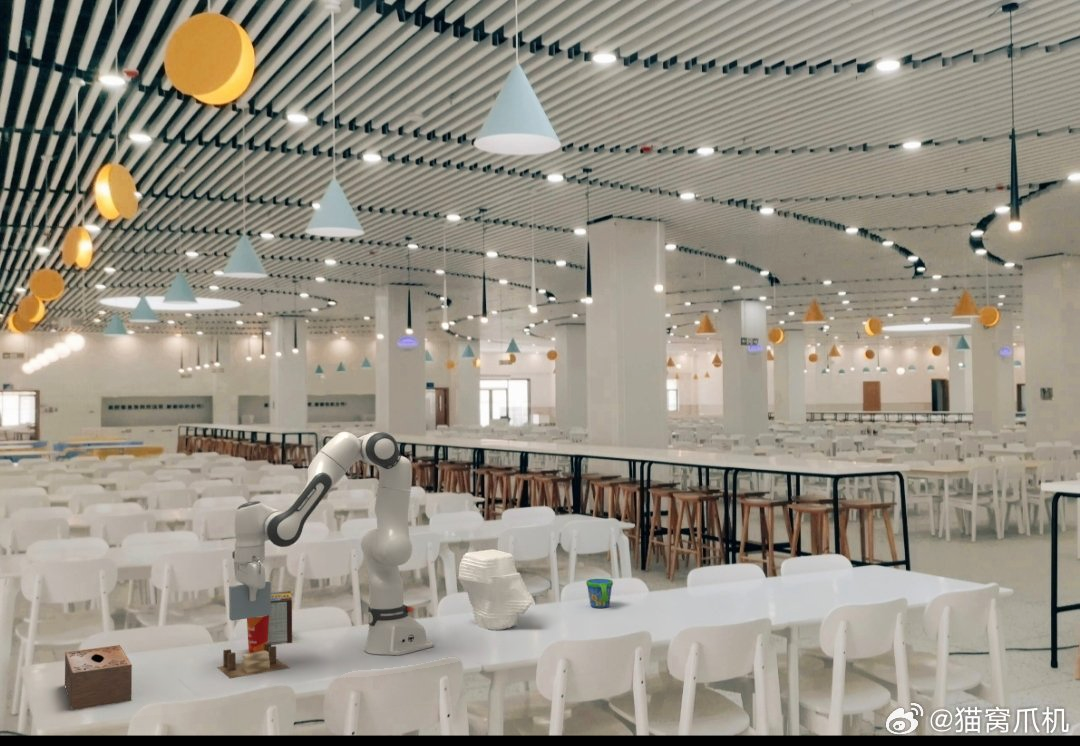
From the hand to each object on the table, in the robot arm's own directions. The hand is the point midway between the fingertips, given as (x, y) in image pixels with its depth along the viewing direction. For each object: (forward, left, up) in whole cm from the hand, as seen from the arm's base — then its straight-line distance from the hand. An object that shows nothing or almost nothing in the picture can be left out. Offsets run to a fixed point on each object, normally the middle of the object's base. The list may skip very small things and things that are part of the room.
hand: (250, 599), depth 279 cm
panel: (0, 0, -5) cm, 5 cm away
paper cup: (-7, -15, -21) cm, 27 cm away
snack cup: (-139, -3, -21) cm, 141 cm away
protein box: (-17, -28, -21) cm, 39 cm away
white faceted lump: (-88, -1, -21) cm, 90 cm away
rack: (0, +3, -21) cm, 21 cm away
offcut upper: (0, +7, -17) cm, 19 cm away
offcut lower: (0, +7, -20) cm, 21 cm away
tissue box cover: (+43, 0, -21) cm, 48 cm away
